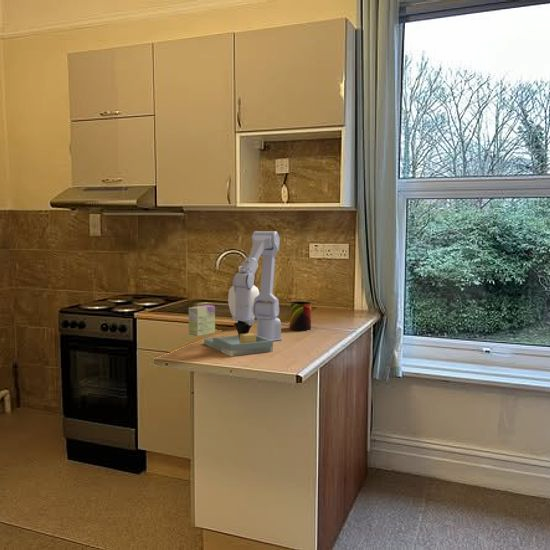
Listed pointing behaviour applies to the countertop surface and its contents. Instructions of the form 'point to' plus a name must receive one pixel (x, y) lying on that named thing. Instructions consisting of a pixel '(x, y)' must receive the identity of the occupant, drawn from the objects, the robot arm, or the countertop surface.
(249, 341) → the ochre block
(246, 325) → the robot arm
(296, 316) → the mug
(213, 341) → the trap tray
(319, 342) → the countertop surface
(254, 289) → the vase
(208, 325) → the box
